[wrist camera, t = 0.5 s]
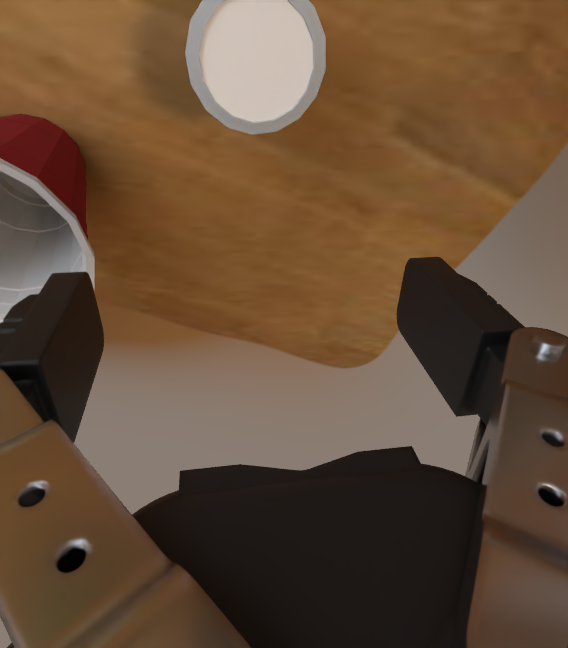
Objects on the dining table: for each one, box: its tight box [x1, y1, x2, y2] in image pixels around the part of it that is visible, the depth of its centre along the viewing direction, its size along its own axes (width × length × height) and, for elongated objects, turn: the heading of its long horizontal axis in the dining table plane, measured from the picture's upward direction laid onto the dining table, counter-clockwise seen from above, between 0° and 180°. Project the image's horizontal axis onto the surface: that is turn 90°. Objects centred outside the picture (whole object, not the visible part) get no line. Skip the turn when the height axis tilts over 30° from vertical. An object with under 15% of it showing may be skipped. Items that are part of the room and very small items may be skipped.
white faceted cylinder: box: [185, 0, 326, 135], centre depth 24 cm, size 7×7×7 cm
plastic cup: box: [0, 114, 95, 323], centre depth 25 cm, size 11×11×12 cm
